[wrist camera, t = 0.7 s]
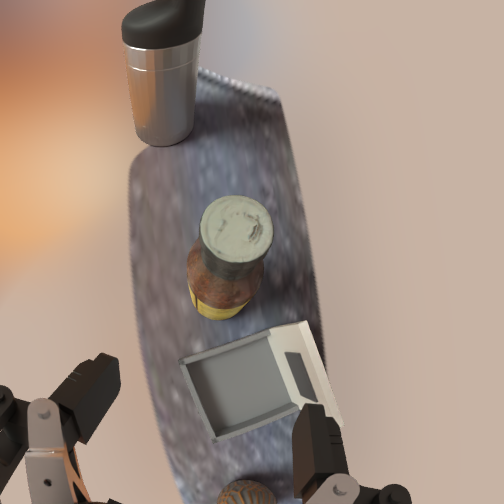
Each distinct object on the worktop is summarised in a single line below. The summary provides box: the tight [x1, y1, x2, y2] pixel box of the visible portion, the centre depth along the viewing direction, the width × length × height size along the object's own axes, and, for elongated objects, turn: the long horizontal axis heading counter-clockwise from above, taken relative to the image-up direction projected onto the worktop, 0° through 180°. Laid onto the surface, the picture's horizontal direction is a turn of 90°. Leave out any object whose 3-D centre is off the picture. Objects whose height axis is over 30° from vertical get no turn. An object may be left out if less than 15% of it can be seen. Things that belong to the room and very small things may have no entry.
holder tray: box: [178, 320, 344, 444], centre depth 25 cm, size 10×11×12 cm
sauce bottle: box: [187, 195, 274, 320], centre depth 24 cm, size 6×6×20 cm
